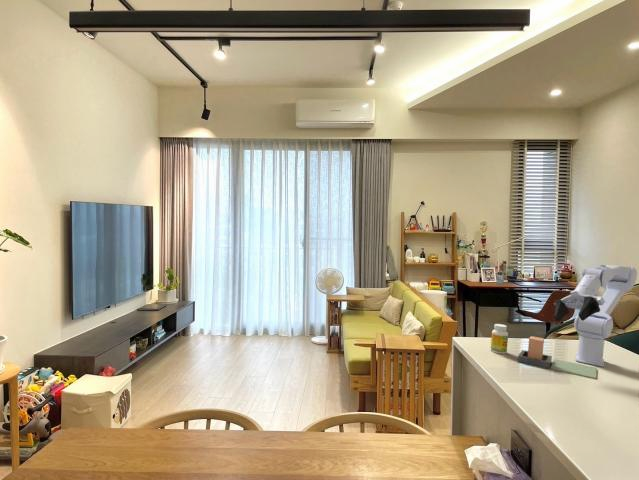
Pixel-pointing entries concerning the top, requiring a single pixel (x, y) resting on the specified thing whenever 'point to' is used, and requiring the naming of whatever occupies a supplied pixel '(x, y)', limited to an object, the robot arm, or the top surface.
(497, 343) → the supplement bottle
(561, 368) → the rubber mat
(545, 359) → the metal collar
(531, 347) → the peg
